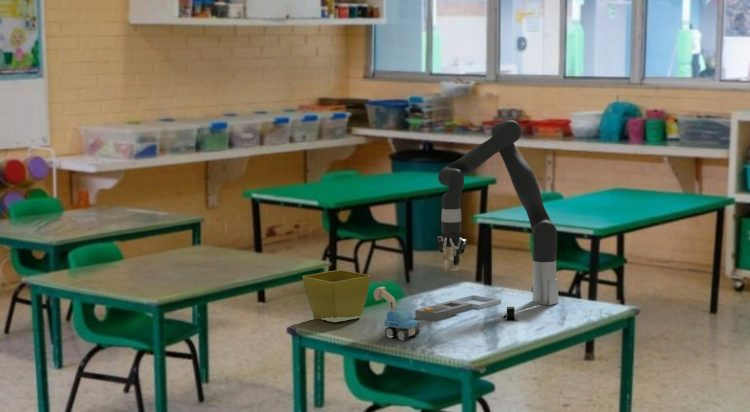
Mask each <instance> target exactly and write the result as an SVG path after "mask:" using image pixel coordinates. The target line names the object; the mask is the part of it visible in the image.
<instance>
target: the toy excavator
mask: <svg viewBox="0 0 750 412" xmlns="http://www.w3.org/2000/svg"><path fill="white" fill-rule="evenodd" d="M373 298H374V299H375V301H377V302H378V301H381V300H383V299H384V300H386V302H387V303H388V312H387V313H386V319H384V321H383V322H384V323H383V324H384V326H385V329H384V335H385V336H386V335H389V336H395V337H396V338H397V339H398V338H401V339H406V340H408V339H409V337H413V336H414V337H417V336H418V335H419V333H420V327H419V326H418V325H417V324H418V323H417V321H416V320H415V319H414V318H413V313H412V312H411V311H410V310H409V308H407V307H404V306H403V307H399V308H397V304H396V303H397V302H396V299H395V296H393V295H392V294H391V293H389V292H388V291H387V290H386V287H385V286H380V287H377V288H376V289H375V290H374V292H373Z"/></svg>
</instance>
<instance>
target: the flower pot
mask: <svg viewBox="0 0 750 412" xmlns="http://www.w3.org/2000/svg"><path fill="white" fill-rule="evenodd" d="M370 280H371V275H369V274H365V273H360V272H355V271H349V270H342V269H337V270H332V271H330V270H329V271H325V272H319V273H313V274H306V275H303V276H302V282H303V286H304V291H305V293H306V297H307V301H308V304H309V307H310V309H311V311H312V314H313V317H314V319H315V320H319V319H321V318H326V317H327V318H330V317H333V318H337V317H354V316H362V314H363V310H364V309H365V304H366V301H367V297H368V293H369V289H370V282H371V281H370Z"/></svg>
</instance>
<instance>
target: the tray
mask: <svg viewBox="0 0 750 412" xmlns="http://www.w3.org/2000/svg"><path fill="white" fill-rule="evenodd" d="M450 301H458V302H464V303H470V304H472V309H476V310H482V309H486V308H490V307H493V306H496V305H500V304H502V298H496V297H490V296H484V295H477V294H471V295H467V296H463V297H459V298H455V299H450Z"/></svg>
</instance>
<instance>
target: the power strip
mask: <svg viewBox="0 0 750 412" xmlns="http://www.w3.org/2000/svg"><path fill="white" fill-rule="evenodd" d="M471 310H473V308H472V304H470V303H464V302H458V301H451V300H449V301H448V300H447V301H446V302H445V301H444V302H441V303H436V304H433V305H430V306H426V307H421V308H418V309H415V310H414V311H415V314H414V315H415V316H414V317H418V318H417V319H420V318H422V320H426V321H433V322H437V321H442V320H445V319H446V320H447V319H449V318H453V317H456V316H458V314H461V313H464V312H465V313H466V312H467V311H471Z"/></svg>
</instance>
